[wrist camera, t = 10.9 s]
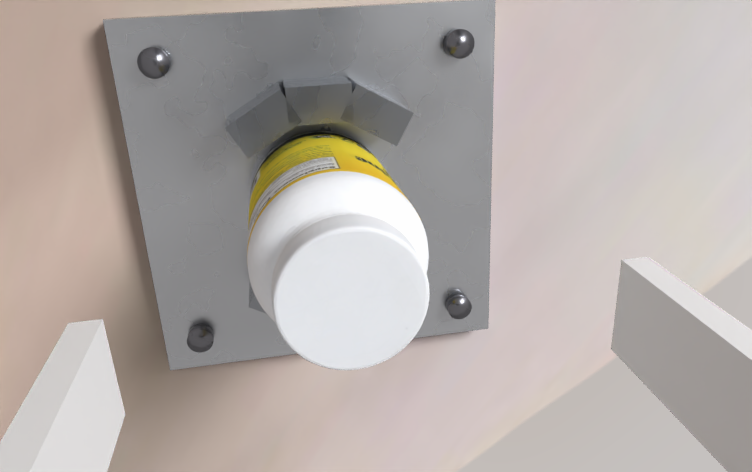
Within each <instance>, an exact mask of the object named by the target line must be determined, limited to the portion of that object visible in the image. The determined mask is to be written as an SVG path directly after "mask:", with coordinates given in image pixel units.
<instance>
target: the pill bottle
mask: <svg viewBox="0 0 752 472" xmlns="http://www.w3.org/2000/svg"><path fill="white" fill-rule="evenodd" d="M428 260H429V252H428V242H427V236H426V232H425V229H424V226H423V224H422V221H421V218H420V217H419V215H418V213H417V212H416V210H415V209H414V207H413V206H412V204H411V203H410V201H409V200H408V199H407V198H406V196H405V195H404V194H403V193H402V191H401V190H400V189H399V187H398V186H397V185H396V183H395V182H394V181H393V179H392V178H391V177H390V175H389V174H388V173H387V171H386V170H385V169H384V167H383V166H382V165H381V163H380V162H379V161H378V160H377V158H376V157H375V156H374V155H373V154H372V153H371V152H370V151H369V150H368V149H367V148H366V147H365V146H364V145H362V144H361V143H359V142H358V141H356V140H355V139H353V138H351V137H348V136H346V135H343V134H340V133H336V132H331V131H312V132H306V133H302V134H298V135H295V136H293V137H290V138H288V139H286V140H285V141H283V142H281V143H280V144H278V145H277V146H276V147H275V148H273V149H272V150H271V151H270V152H269V153H268V154H267V156H266V157H265V158H264V159H263V161H262V162H261V164H260V165H259V167H258V169H257V171H256V173H255V176H254V179H253V182H252V187H251V193H250V204H249V220H248V244H247V266H248V273H249V279H250V283H251V286H252V289H253V292H254V294H255V296H256V298H257V300H258V302H259V304H260V305H261V307H262V308H263V310H264V311H265V312H266V313H267V314H268V316H269V317H270V318H271V319H272V320H273V321H274V322H275V323H276V325H277V328H278V330H279V332H280V333H281V335H282V337H283V339H284V340H285V341H286V343H287V344H288V345H289V346H290V347H291V348H292V349H293V350H294V351H295V352H296V353H297V354H299V355H300V356H301V357H303V358H304V359H306V360H307V361H309V362H312V363H314V364H316V365H319V366H322V367H325V368H329V369H335V370H358V369H363V368H368V367H371V366H375V365H377V364H379V363H382V362H384V361H386V360H388V359H390V358H391V357H393V356H394V355H396V354H397V353H399V352H400V351H401V350H403V349H404V348H405V347H406V346H407V345H408V344H409V343H410V342H411V340H412V339H413V338H414V337H415V335H416V334H417V332H418V331H419V329H420V327H421V326H422V323H423V321H424V319H425V316H426V314H427V309H428V304H429V296H430V293H429V282H428V278H427V269H428Z"/></svg>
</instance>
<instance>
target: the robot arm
mask: <svg viewBox="0 0 752 472" xmlns="http://www.w3.org/2000/svg"><path fill="white" fill-rule="evenodd" d="M611 349H612V350H613V352H614V353H615V354H616V355H617V356H618V357H619V358H620V359H621V360H622V361H623V362H624V363H625V364H626V365H627V366H628V367H629V368H630V369H631V370H632V371H633V373H634V374H635V375H636V376H637V377H638V378H639V379H640V380H641V381H642V382H643V383H644V384H645V385H646V386H647V387H648V388H649V389H650V390H651V391H652V392H653V394H654V395H655V396H656V397H657V398H658V399H659V400H660V401H661V402H662V403H663V404H664V405H665V406H666V407H667V408H668V409H669V410H670V411H671V412H672V414H673V415H674V416H675V417H676V418H677V419H678V420H679V421H680V422H681V423H682V424H683V425H684V426H685V427H686V428H687V429H688V430H689V431H690V433H691V434H692V435H693V436H694V437H695V438H696V439H697V440H698V441H699V442H700V443H701V444H702V445H703V446H704V447H705V448H706V449H707V450H708V451H709V452H710V453H711V455H712V456H713V457H714V458H715V459H716V460H717V461H718V462H719V463H720V464H721V465H722V466H723V467H724V468H725V469H726V470H727V471H728V472H752V330H751V329H749V328H748V327H747V326H745V325H744V324H742V323H741V322H740V321H738V320H737V319H735V318H734V317H732V316H731V315H730V314H728V313H727V312H725V311H724V310H723V309H721V308H720V307H718V306H717V305H716V304H714V303H713V302H711V301H710V300H709V299H707V298H706V297H704V296H703V295H702V294H700V293H699V292H697V291H696V290H695V289H693V288H692V287H690V286H689V285H687V284H686V283H685V282H683V281H682V280H680V279H679V278H678V277H676V276H675V275H673V274H672V273H671V272H669V271H668V270H666V269H665V268H664V267H662V266H661V265H659V264H658V263H657V262H655V261H654V260H652V259H651V258H649V257H642V258H633V259H624V260H621V269H620V277H619V286H618V294H617V303H616V311H615V320H614V328H613V337H612V345H611ZM124 417H125V411H124V406H123V402H122V398H121V394H120V390H119V385H118V381H117V377H116V373H115V369H114V364H113V360H112V356H111V352H110V348H109V343H108V339H107V335H106V331H105V327H104V322H103V319H99V320H90V321H81V322H73V323H68V325H67V326H66V328H65V330H64V332H63V333H62V335H61V337H60V339H59V340H58V342H57V344H56V346H55V347H54V349H53V351H52V353H51V354H50V356H49V358H48V360H47V361H46V363H45V365H44V367H43V368H42V370H41V372H40V374H39V375H38V377H37V379H36V381H35V382H34V384H33V386H32V388H31V389H30V391H29V393H28V395H27V396H26V398H25V400H24V402H23V403H22V405H21V407H20V409H19V410H18V412H17V414H16V416H15V417H14V419H13V421H12V423H11V424H10V426H9V428H8V430H7V431H6V433H5V435H4V436H3V438H2V440H1V442H0V472H107V471H108V467H109V464H110V461H111V458H112V455H113V452H114V449H115V446H116V442H117V439H118V436H119V433H120V430H121V427H122V424H123V420H124Z"/></svg>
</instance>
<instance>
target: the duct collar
mask: <svg viewBox="0 0 752 472" xmlns="http://www.w3.org/2000/svg"><path fill="white" fill-rule="evenodd" d="M103 23H104V29H105V34H106V39H107V44H108V49H109V55H110V60H111V65H112V70H113V75H114V80H115V86H116V91H117V96H118V101H119V106H120V112H121V117H122V122H123V127H124V132H125V138H126V143H127V148H128V153H129V158H130V164H131V169H132V174H133V179H134V184H135V190H136V195H137V200H138V205H139V210H140V216H141V221H142V226H143V231H144V236H145V242H146V247H147V252H148V257H149V262H150V268H151V273H152V278H153V283H154V288H155V294H156V299H157V304H158V309H159V314H160V320H161V325H162V330H163V335H164V340H165V346H166V351H167V356H168V361H169V366H170V370H176V369H184V368H191V367H199V366H207V365H214V364H222V363H229V362H237V361H245V360H252V359H260V358H268V357H275V356H283V355H290V354H297V353H296V352H295V351H294V350H293V349H292V348H291V347H290V346H289V345H288V344H287V343H286V341H285V340H284V339H283V337H282V335H281V333H280V332H279V330H278V328H277V325H276V323H275V322H274V321H273V320H272V319H271V318H270V317H269V316H268V314H267V313H266V312H265V311H264V310H263V308H262V307H261V305H260V304H259V302H258V300H257V298H256V296H255V294H254V292H253V289H252V286H251V283H250V279H249V273H248V266H247V244H248V220H249V204H250V193H251V187H252V182H253V179H254V176H255V173H256V171H257V169H258V167H259V165H260V164H261V162H262V161H263V159H264V158H265V157H266V156H267V154H268V153H269V152H270V151H271V150H272V149H273V148H275V147H276V146H277V145H278V144H280V143H281V142H283V141H285V140H286V139H288V138H290V137H293V136H295V135H298V134H302V133H306V132H312V131H331V132H336V133H340V134H343V135H346V136H348V137H351V138H353V139H355V140H356V141H358V142H359V143H361V144H362V145H364V146H365V147H366V148H367V149H368V150H369V151H370V152H371V153H372V154H373V155H374V156H375V157H376V158H377V160H378V161H379V162H380V163H381V165H382V166H383V167H384V169H385V170H386V171H387V173H388V174H389V175H390V177H391V178H392V179H393V181H394V182H395V183H396V185H397V186H398V187H399V189H400V190H401V191H402V193H403V194H404V195H405V196H406V198H407V199H408V200H409V201H410V203H411V204H412V206H413V207H414V209H415V210H416V212H417V213H418V215H419V217H420V218H421V221H422V224H423V226H424V229H425V232H426V236H427V242H428V252H429V260H428V269H427V278H428V282H429V293H430V296H429V304H428V309H427V314H426V316H425V319H424V321H423V323H422V326H421V327H420V329H419V331H418V332H417V334H416V335H415V337H414V338H420V337H427V336H435V335H443V334H450V333H458V332H465V331H473V330H481V329H488V318H489V271H490V224H491V178H492V131H493V84H494V38H495V0H463V1H444V2H425V3H406V4H387V5H367V6H348V7H329V8H310V9H290V10H271V11H252V12H233V13H214V14H194V15H175V16H156V17H137V18H117V19H104V20H103Z"/></svg>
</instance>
